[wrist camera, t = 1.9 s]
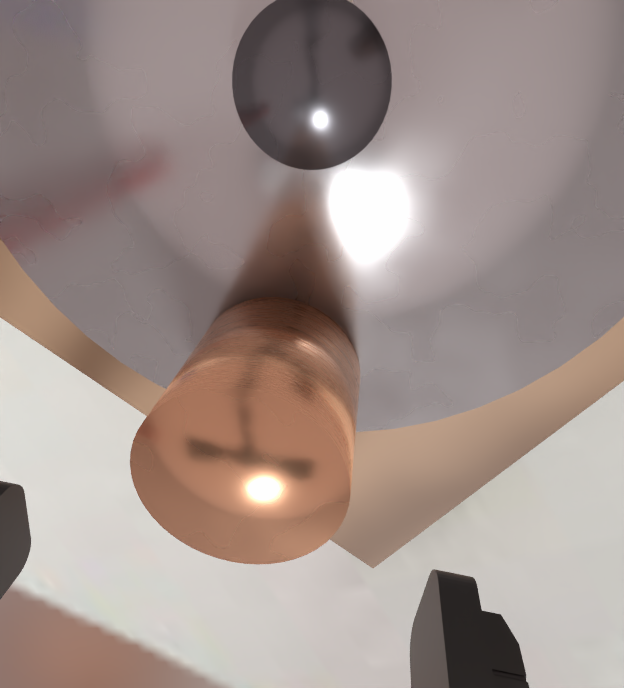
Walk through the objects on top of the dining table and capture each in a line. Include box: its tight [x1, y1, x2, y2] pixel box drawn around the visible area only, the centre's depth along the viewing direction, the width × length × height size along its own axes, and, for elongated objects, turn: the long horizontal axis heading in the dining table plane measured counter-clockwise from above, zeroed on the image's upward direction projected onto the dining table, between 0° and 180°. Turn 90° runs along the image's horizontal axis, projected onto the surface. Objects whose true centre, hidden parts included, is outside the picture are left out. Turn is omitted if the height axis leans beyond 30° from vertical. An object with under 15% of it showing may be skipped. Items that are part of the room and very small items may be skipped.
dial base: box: [0, 238, 624, 568], centre depth 15 cm, size 26×26×2 cm
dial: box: [0, 0, 624, 564], centre depth 11 cm, size 20×20×6 cm
